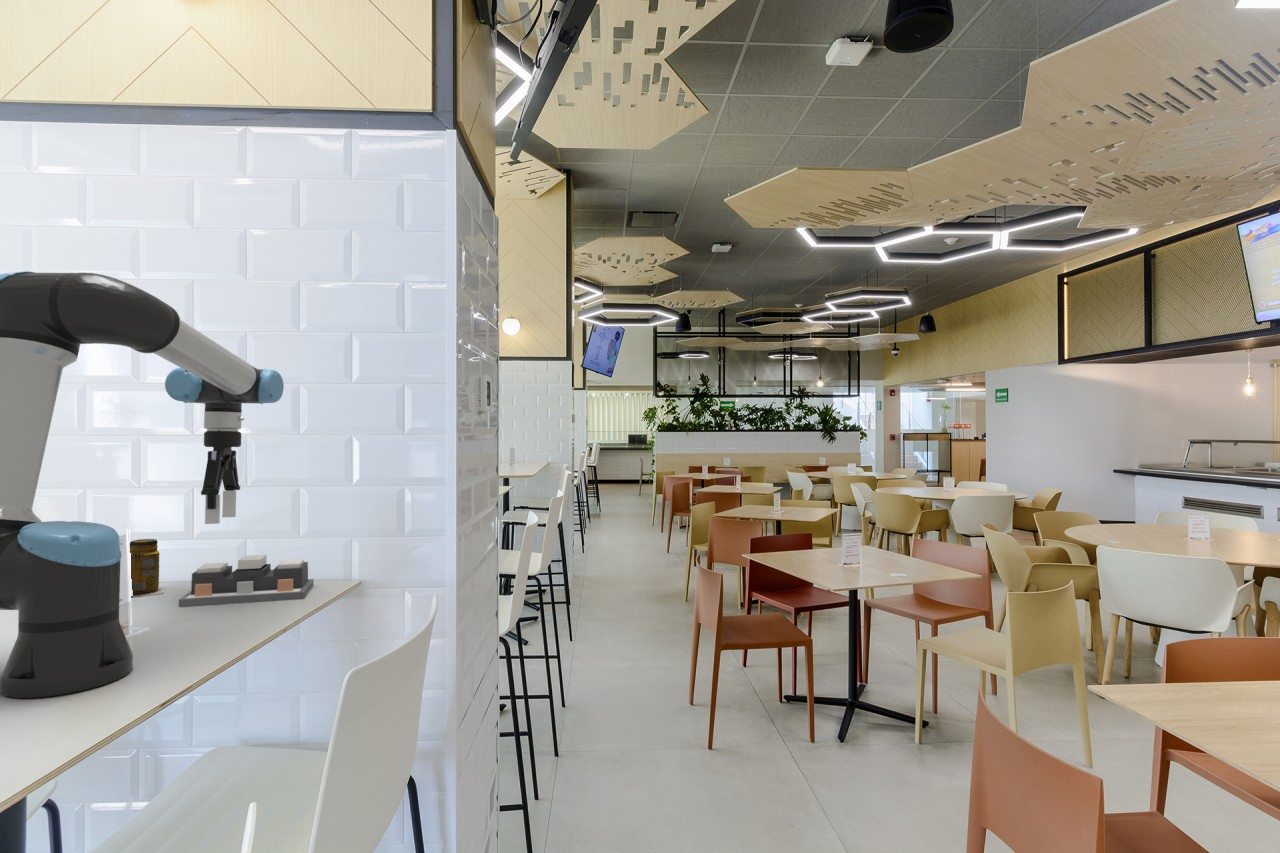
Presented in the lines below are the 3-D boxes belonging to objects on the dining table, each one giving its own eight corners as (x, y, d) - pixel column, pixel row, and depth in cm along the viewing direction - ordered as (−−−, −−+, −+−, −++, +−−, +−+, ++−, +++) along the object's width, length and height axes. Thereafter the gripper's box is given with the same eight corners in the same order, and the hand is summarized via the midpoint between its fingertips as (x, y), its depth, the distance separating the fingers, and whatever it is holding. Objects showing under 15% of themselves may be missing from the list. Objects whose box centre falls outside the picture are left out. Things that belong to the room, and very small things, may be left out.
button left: (196, 577, 148) (196, 568, 148) (205, 572, 154) (205, 563, 154) (220, 576, 150) (220, 567, 150) (227, 571, 155) (227, 562, 155)
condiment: (160, 587, 160) (160, 537, 160) (163, 594, 154) (163, 541, 154) (121, 591, 156) (122, 540, 156) (122, 599, 149) (123, 545, 149)
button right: (277, 573, 153) (277, 564, 153) (282, 568, 159) (283, 559, 159) (299, 572, 154) (299, 563, 154) (303, 567, 160) (303, 559, 160)
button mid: (237, 569, 151) (238, 560, 151) (244, 564, 156) (244, 555, 156) (260, 568, 152) (260, 559, 152) (266, 563, 158) (266, 554, 158)
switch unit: (178, 606, 142) (179, 578, 142) (199, 591, 156) (200, 565, 156) (303, 598, 150) (303, 571, 150) (313, 585, 163) (313, 560, 163)
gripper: (226, 429, 148) (224, 526, 147) (253, 431, 172) (251, 514, 171) (186, 429, 146) (184, 527, 145) (220, 431, 169) (218, 515, 169)
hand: (221, 520), depth 158 cm, fingers open, 13 cm apart
